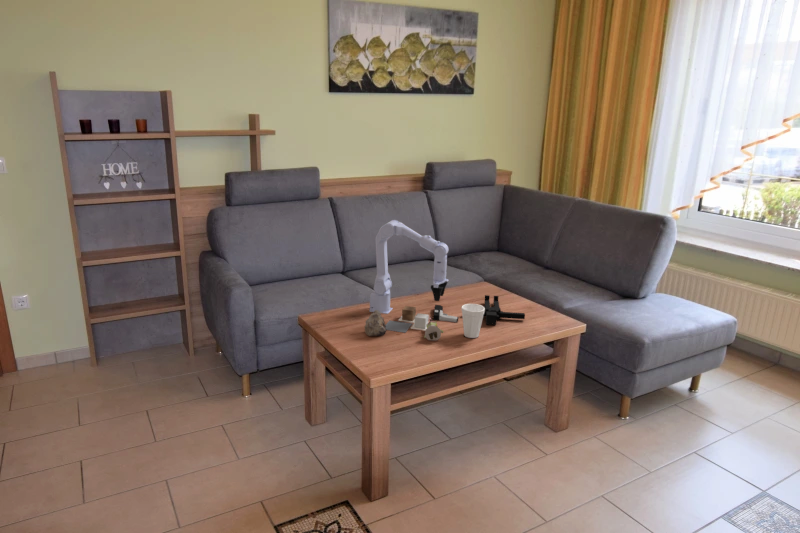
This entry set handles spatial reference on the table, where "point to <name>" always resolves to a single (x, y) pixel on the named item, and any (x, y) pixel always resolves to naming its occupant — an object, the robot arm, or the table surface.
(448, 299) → the table surface
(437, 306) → the toy gun
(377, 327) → the rock
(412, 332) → the table surface
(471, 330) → the cup
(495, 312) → the toy
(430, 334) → the figurine
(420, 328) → the code tile
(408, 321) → the code tile
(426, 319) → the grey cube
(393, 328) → the slate mat
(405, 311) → the walnut cube
